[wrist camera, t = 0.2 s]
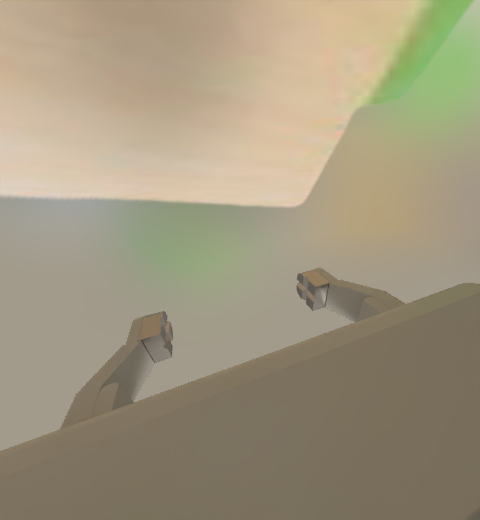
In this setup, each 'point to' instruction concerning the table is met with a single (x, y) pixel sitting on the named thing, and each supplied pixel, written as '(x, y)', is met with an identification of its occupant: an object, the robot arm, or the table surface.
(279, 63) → the table surface
